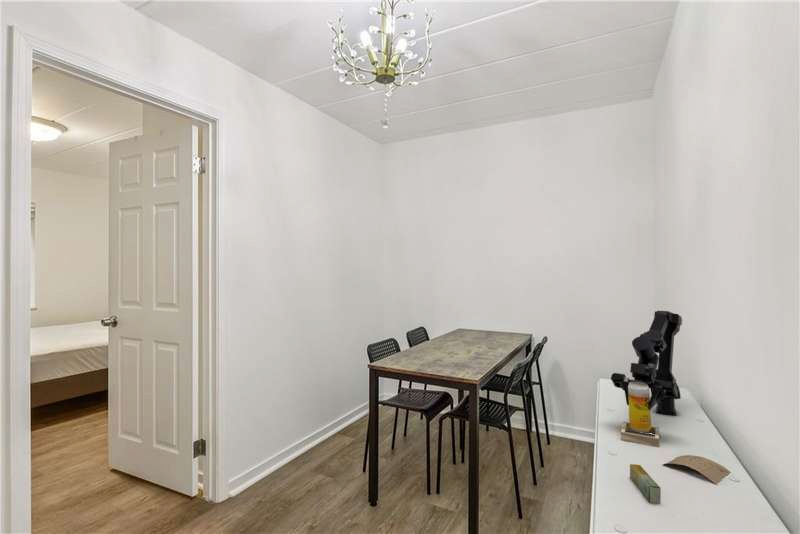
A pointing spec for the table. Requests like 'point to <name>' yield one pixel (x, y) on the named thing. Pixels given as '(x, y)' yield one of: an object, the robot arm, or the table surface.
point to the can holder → (640, 438)
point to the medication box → (645, 484)
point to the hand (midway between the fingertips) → (638, 406)
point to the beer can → (639, 406)
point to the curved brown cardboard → (703, 467)
